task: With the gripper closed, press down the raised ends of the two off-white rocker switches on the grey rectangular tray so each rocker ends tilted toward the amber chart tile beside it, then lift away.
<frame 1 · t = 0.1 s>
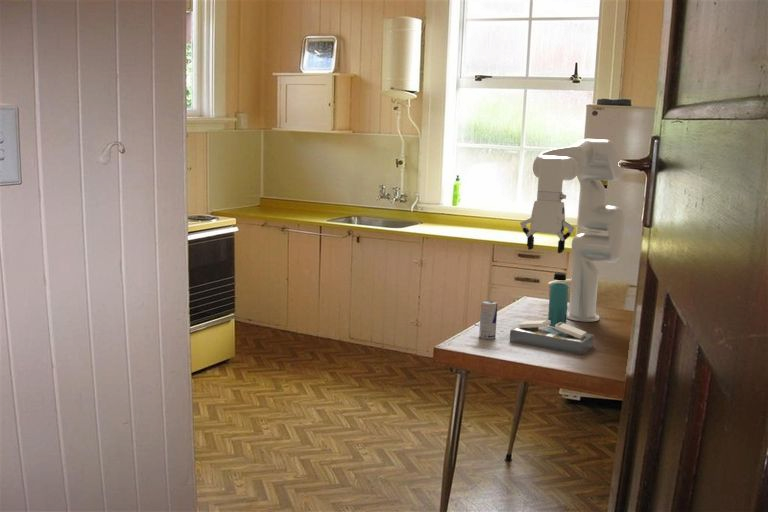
hand: (545, 250, 251), 31 cm above the table, tool pointing down, fingers open, 9 cm apart
rocker a: (534, 323, 260), point 6 cm above the table, hinge at 12.0°
energy drink: (487, 337, 263), on the table
beverage bottle: (556, 329, 277), on the table
grey rectangular tray: (551, 344, 258), on the table
rocker b: (570, 330, 254), point 6 cm above the table, hinge at -12.0°
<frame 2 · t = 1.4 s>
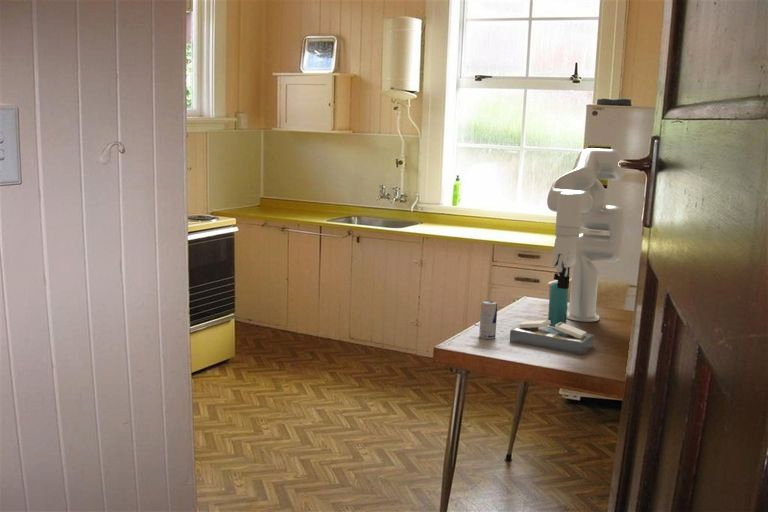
hand: (562, 287, 253), 19 cm above the table, tool pointing down, fingers closed
nothing on the table moved.
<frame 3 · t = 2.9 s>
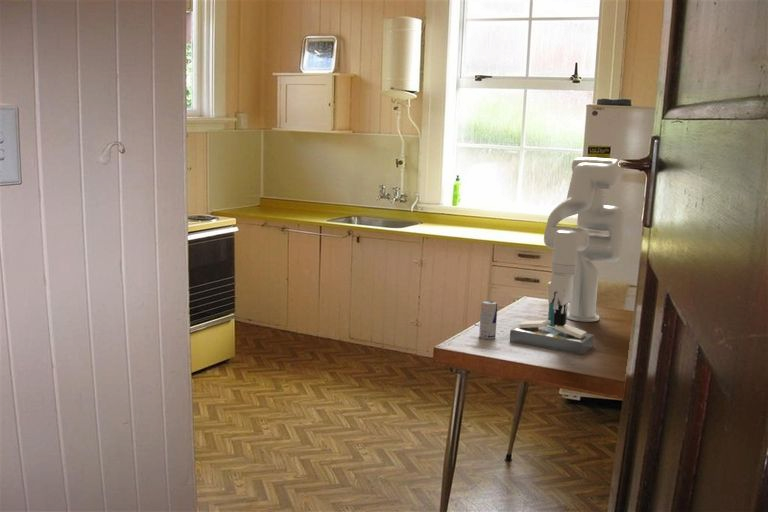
hand: (559, 324, 255), 7 cm above the table, tool pointing down, fingers closed
rocker b: (570, 330, 254), point 6 cm above the table, hinge at -10.6°, touching gripper
everything else where it was.
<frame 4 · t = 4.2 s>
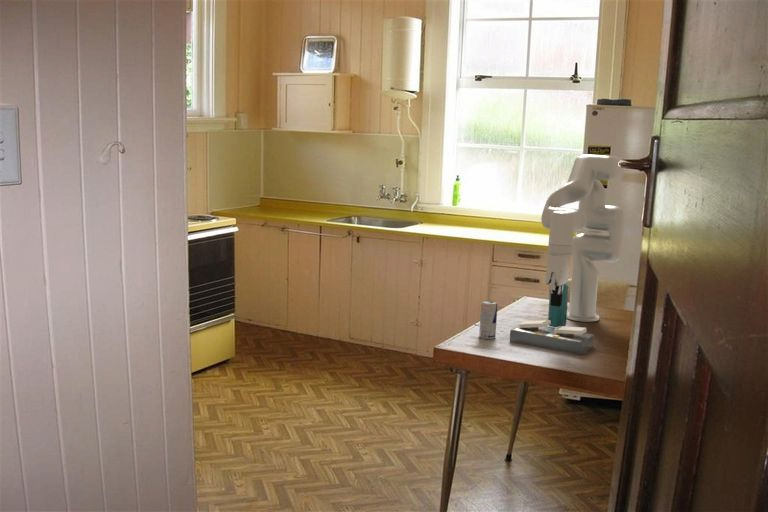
hand: (555, 305, 255), 13 cm above the table, tool pointing down, fingers closed
rocker b: (570, 330, 254), point 6 cm above the table, hinge at 6.4°
everything else where it was.
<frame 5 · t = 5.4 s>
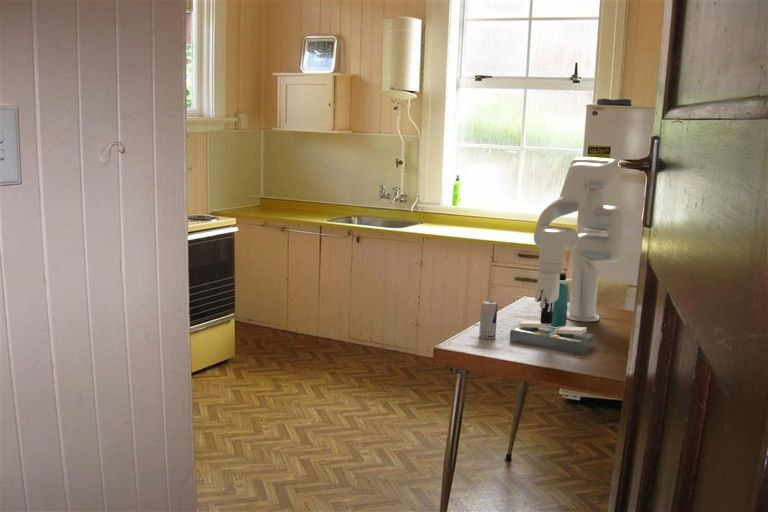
hand: (546, 322, 258), 7 cm above the table, tool pointing down, fingers closed
rocker a: (534, 323, 260), point 6 cm above the table, hinge at 8.0°, touching gripper
rocker b: (570, 330, 254), point 6 cm above the table, hinge at 7.6°
everything else where it was.
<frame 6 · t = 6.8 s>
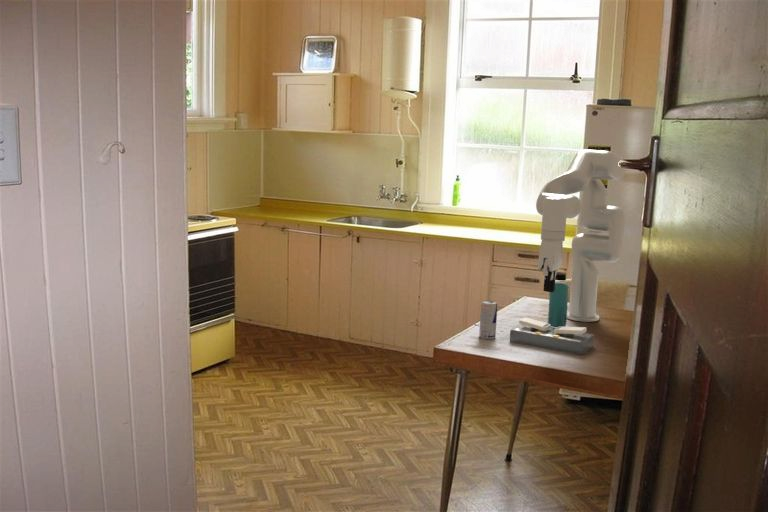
hand: (548, 291, 257), 17 cm above the table, tool pointing down, fingers closed
rocker a: (534, 323, 260), point 6 cm above the table, hinge at -6.3°
everything else where it was.
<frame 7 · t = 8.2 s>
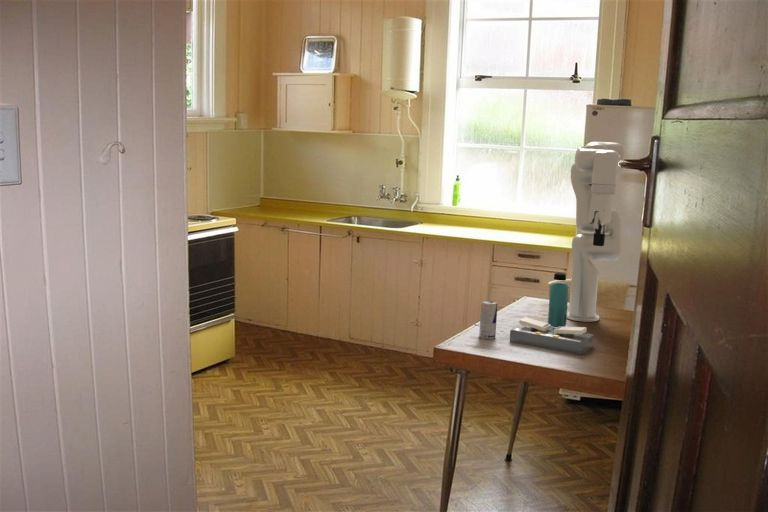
hand: (598, 245, 259), 32 cm above the table, tool pointing down, fingers closed
rocker a: (534, 323, 260), point 6 cm above the table, hinge at -7.2°
everything else where it was.
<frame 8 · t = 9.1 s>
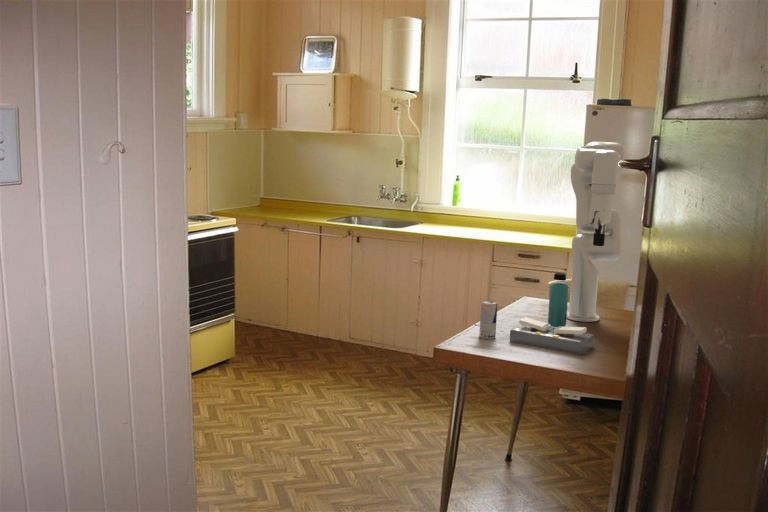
hand: (598, 245, 259), 32 cm above the table, tool pointing down, fingers closed
nothing on the table moved.
at the end: rocker a at -7° (first picture: +12°); rocker b at +8° (first picture: -12°) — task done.
